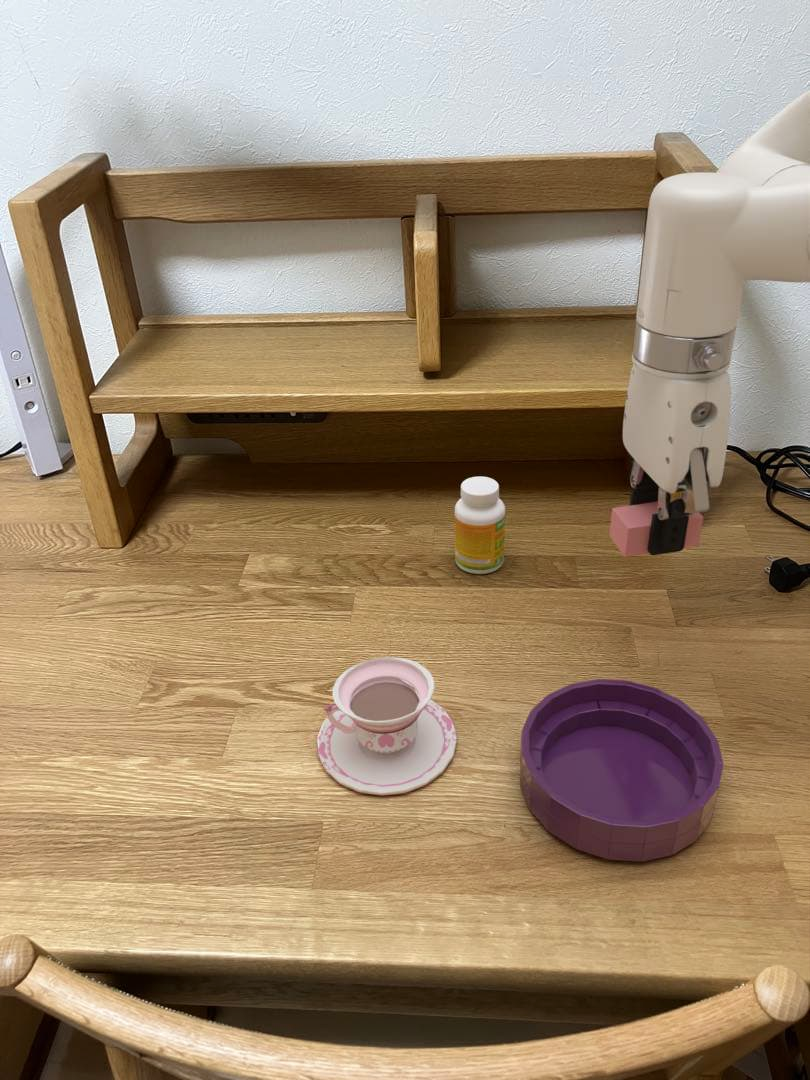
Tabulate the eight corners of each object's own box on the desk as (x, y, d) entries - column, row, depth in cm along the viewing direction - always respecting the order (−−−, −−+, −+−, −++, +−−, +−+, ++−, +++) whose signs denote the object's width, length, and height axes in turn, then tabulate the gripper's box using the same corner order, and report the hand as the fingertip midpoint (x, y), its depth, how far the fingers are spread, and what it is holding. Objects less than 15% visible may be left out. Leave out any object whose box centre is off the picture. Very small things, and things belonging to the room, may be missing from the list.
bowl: (661, 704, 80) (667, 666, 77) (750, 843, 67) (761, 803, 65) (496, 734, 77) (497, 696, 75) (557, 884, 65) (561, 845, 62)
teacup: (433, 682, 83) (432, 630, 80) (475, 778, 73) (476, 724, 70) (306, 710, 81) (299, 657, 77) (332, 812, 71) (325, 758, 68)
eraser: (680, 525, 83) (685, 497, 81) (698, 545, 80) (703, 517, 78) (609, 536, 81) (612, 508, 80) (624, 557, 79) (628, 528, 77)
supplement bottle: (502, 577, 96) (504, 499, 91) (452, 574, 97) (451, 497, 92) (505, 549, 101) (507, 473, 95) (457, 546, 102) (457, 471, 96)
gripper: (784, 379, 64) (740, 585, 74) (678, 305, 78) (653, 488, 88) (687, 392, 63) (655, 599, 73) (596, 314, 77) (581, 498, 87)
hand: (654, 536), depth 80 cm, fingers closed on eraser, 3 cm apart
